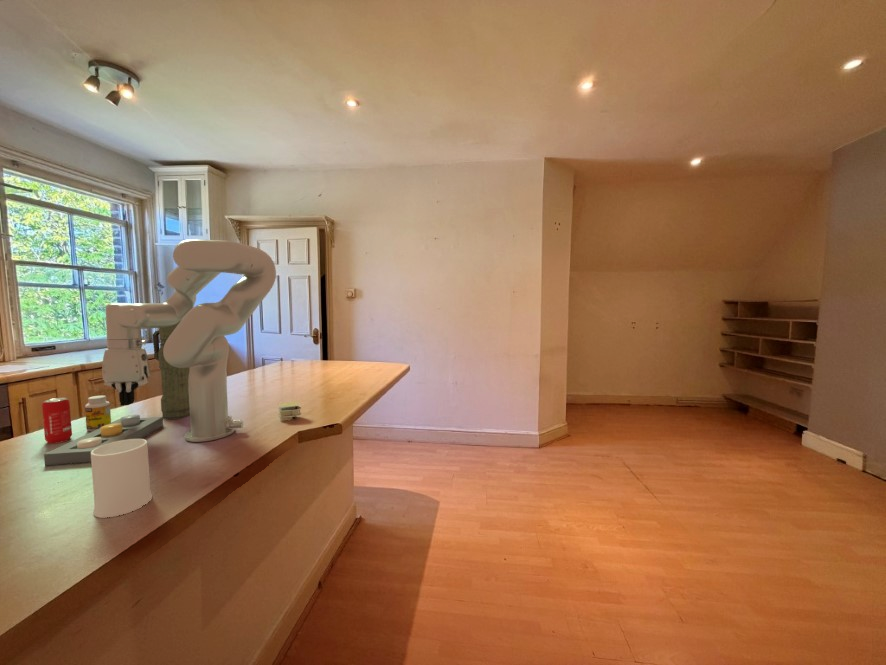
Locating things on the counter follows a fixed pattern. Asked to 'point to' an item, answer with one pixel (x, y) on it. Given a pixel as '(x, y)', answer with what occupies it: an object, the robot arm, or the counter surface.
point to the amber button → (111, 429)
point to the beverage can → (57, 420)
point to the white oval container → (120, 477)
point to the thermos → (171, 380)
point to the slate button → (130, 420)
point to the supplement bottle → (97, 412)
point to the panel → (83, 455)
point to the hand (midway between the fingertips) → (127, 404)
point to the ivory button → (89, 442)
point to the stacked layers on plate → (289, 410)
